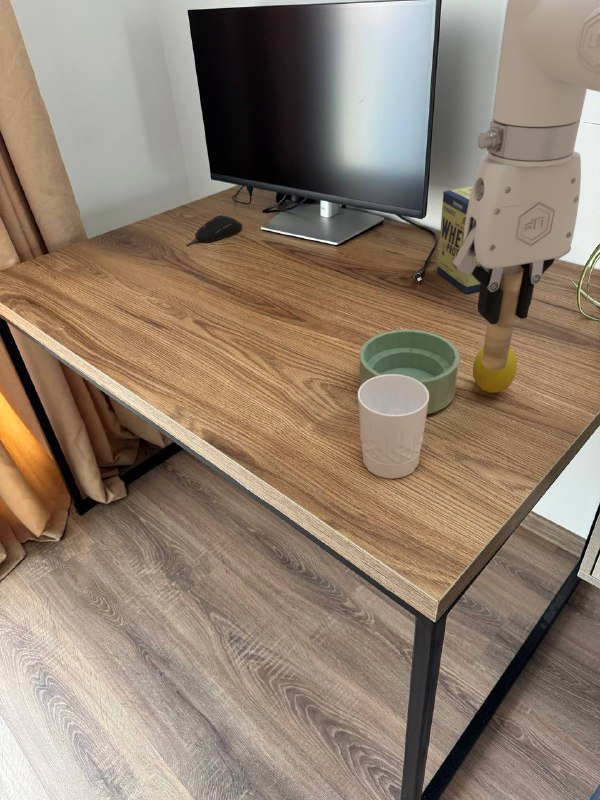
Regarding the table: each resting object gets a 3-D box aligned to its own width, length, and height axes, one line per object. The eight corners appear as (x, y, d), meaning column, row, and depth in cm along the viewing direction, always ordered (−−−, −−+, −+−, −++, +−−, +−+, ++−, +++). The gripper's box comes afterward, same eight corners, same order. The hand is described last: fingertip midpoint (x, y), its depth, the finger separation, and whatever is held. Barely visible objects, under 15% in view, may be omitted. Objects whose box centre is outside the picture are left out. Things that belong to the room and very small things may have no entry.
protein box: (435, 272, 112) (441, 190, 103) (505, 257, 116) (517, 176, 106) (465, 295, 104) (475, 208, 95) (539, 278, 108) (556, 192, 98)
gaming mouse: (179, 242, 133) (176, 225, 130) (232, 224, 140) (230, 207, 138) (194, 249, 129) (191, 232, 126) (248, 230, 136) (246, 213, 134)
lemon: (516, 387, 81) (526, 337, 77) (504, 409, 78) (513, 358, 73) (477, 377, 84) (484, 328, 79) (463, 397, 80) (470, 347, 75)
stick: (498, 355, 70) (514, 261, 63) (510, 367, 68) (529, 271, 61) (477, 359, 70) (490, 265, 63) (488, 372, 68) (504, 276, 60)
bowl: (430, 357, 89) (433, 322, 85) (472, 408, 78) (477, 370, 75) (347, 374, 87) (347, 339, 83) (379, 428, 76) (380, 391, 73)
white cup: (428, 444, 73) (434, 379, 67) (417, 488, 67) (422, 421, 61) (366, 434, 75) (367, 369, 69) (350, 475, 69) (349, 409, 64)
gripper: (470, 161, 50) (449, 345, 61) (636, 138, 52) (588, 318, 64) (432, 141, 56) (420, 313, 67) (584, 121, 58) (548, 289, 69)
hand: (502, 314), depth 65 cm, fingers closed on stick, 2 cm apart
